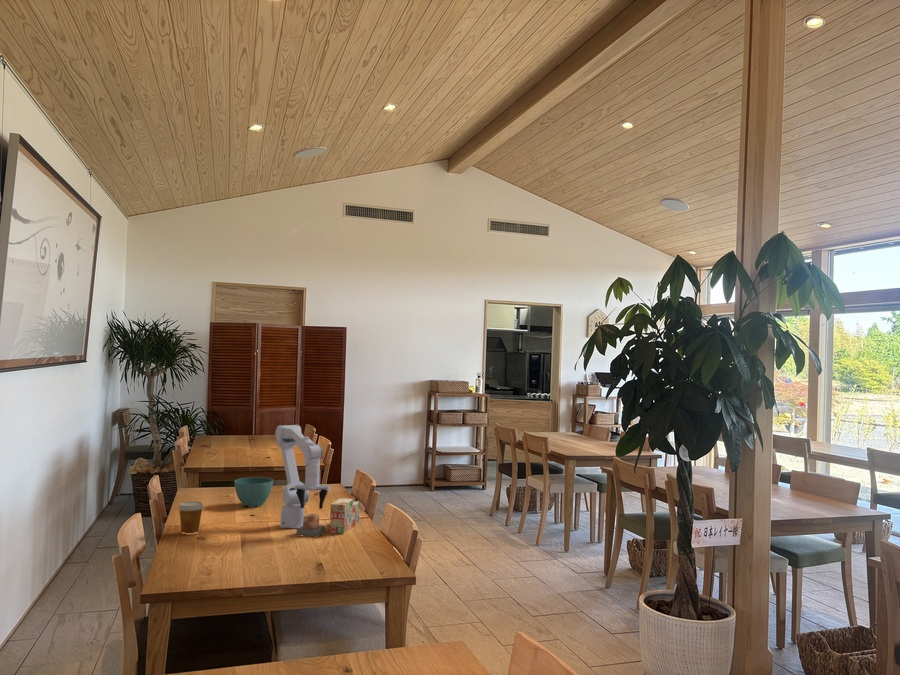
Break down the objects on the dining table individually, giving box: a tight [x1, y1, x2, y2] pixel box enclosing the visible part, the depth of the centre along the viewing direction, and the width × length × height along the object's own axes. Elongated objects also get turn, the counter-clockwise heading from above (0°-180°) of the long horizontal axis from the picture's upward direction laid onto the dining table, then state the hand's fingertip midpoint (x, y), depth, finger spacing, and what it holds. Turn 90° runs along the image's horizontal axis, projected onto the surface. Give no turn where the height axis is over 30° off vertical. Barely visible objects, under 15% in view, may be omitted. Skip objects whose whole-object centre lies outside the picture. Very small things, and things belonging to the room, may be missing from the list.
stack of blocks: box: [329, 497, 360, 534], centre depth 286 cm, size 21×6×12 cm, turn 171°
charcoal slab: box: [296, 524, 326, 537], centre depth 274 cm, size 9×9×3 cm
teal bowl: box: [233, 476, 274, 508], centre depth 327 cm, size 18×18×12 cm
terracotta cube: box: [303, 513, 320, 529], centre depth 274 cm, size 5×5×5 cm
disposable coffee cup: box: [178, 501, 204, 533], centre depth 271 cm, size 10×10×12 cm
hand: (311, 508), depth 275 cm, fingers open, 7 cm apart
